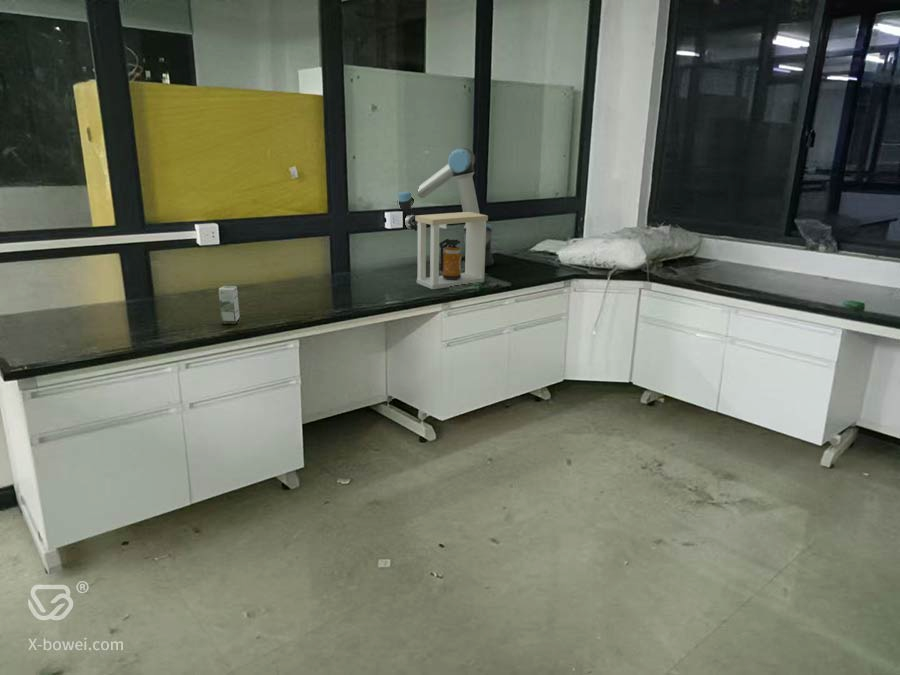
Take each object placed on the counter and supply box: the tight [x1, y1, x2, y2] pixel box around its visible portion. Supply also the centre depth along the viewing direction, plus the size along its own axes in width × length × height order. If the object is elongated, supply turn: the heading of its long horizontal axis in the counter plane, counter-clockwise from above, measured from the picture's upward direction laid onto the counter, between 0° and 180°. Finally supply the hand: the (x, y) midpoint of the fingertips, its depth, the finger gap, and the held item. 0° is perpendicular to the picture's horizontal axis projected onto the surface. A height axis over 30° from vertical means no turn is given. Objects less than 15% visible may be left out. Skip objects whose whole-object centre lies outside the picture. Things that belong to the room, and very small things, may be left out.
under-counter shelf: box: [415, 211, 489, 290], centre depth 315 cm, size 32×16×34 cm, turn 123°
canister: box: [439, 238, 462, 280], centre depth 316 cm, size 9×11×20 cm
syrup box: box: [218, 285, 241, 322], centre depth 248 cm, size 6×6×14 cm
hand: (435, 227), depth 329 cm, fingers open, 13 cm apart
